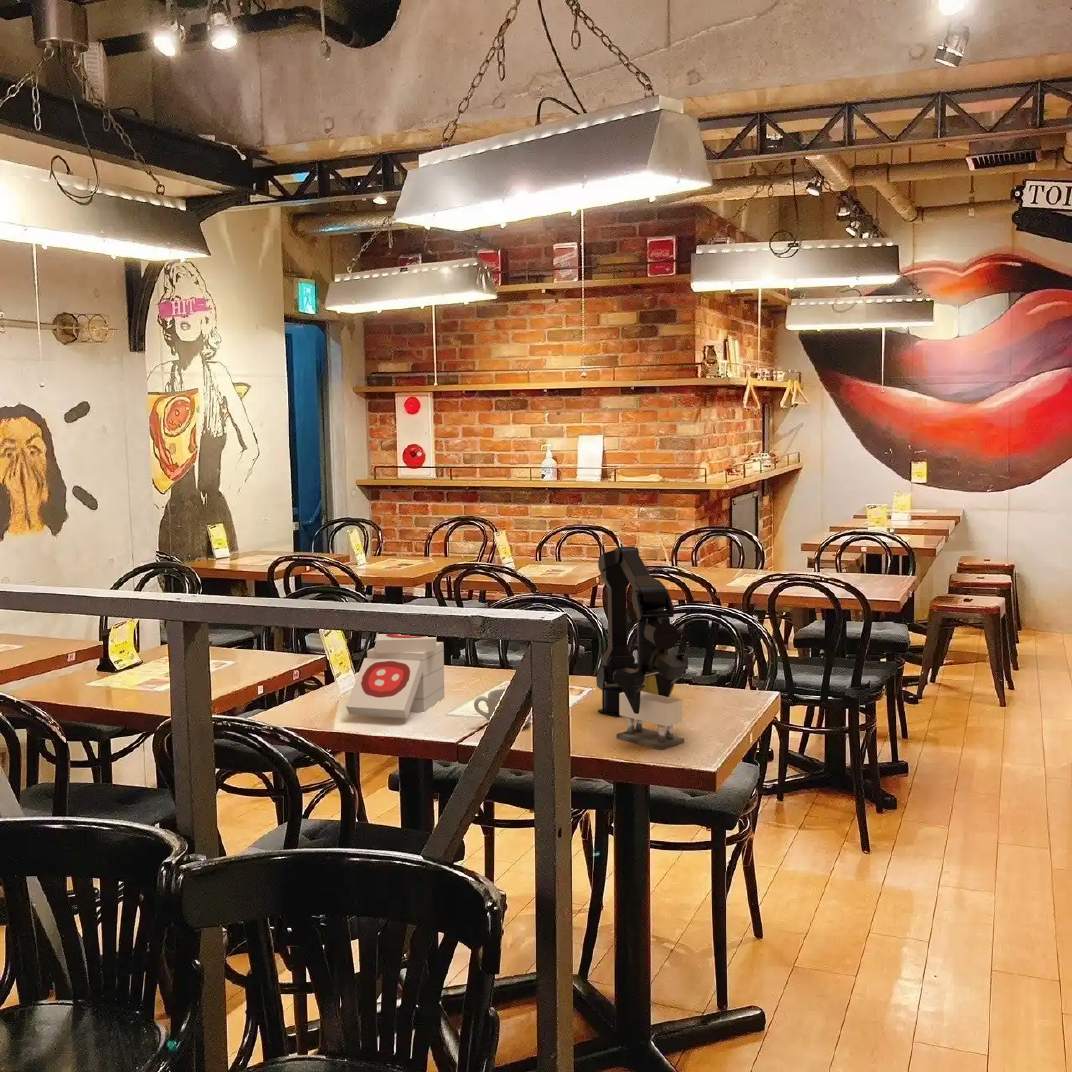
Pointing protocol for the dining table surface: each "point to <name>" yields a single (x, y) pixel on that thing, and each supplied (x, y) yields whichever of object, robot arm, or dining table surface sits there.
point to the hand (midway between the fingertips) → (650, 709)
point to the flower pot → (651, 685)
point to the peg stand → (649, 735)
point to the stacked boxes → (399, 677)
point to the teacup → (491, 703)
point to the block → (653, 709)
